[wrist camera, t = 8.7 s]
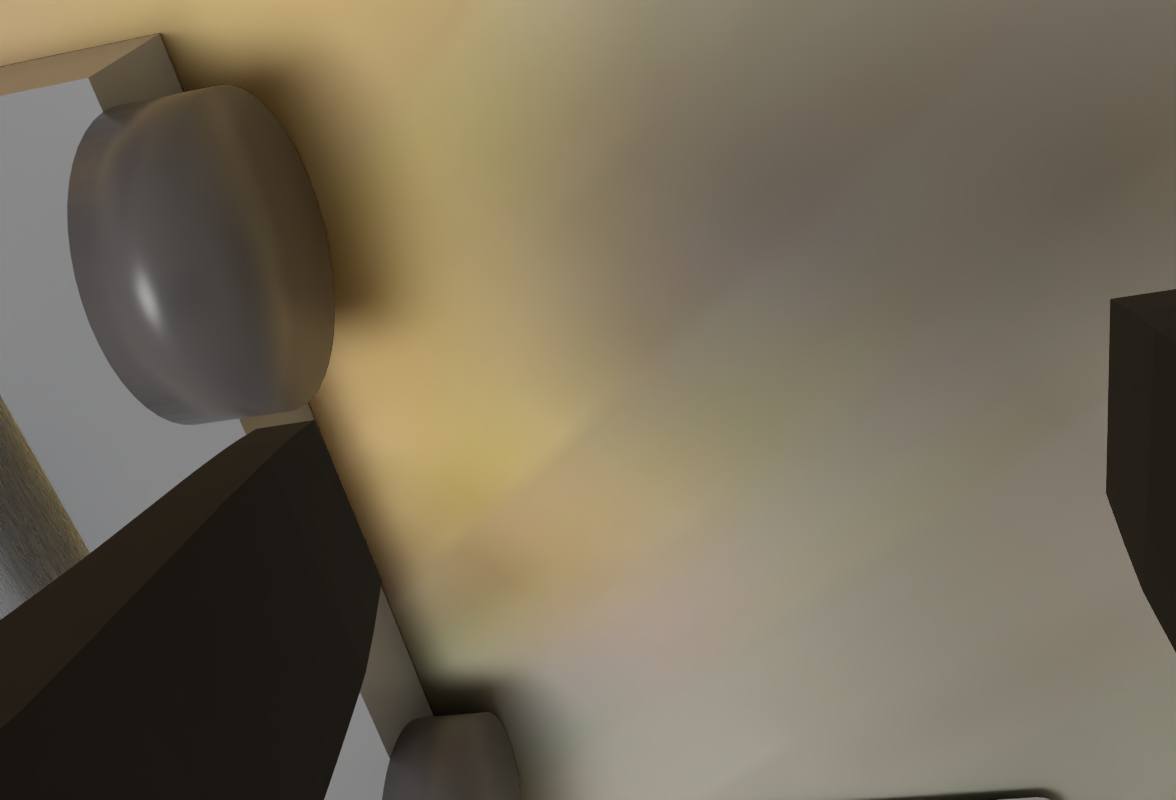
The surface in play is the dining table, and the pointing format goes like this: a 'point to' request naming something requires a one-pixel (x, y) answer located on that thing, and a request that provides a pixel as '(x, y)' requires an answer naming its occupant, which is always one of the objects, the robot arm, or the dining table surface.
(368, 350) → the dining table surface
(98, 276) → the chassis
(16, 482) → the beige block
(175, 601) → the robot arm
